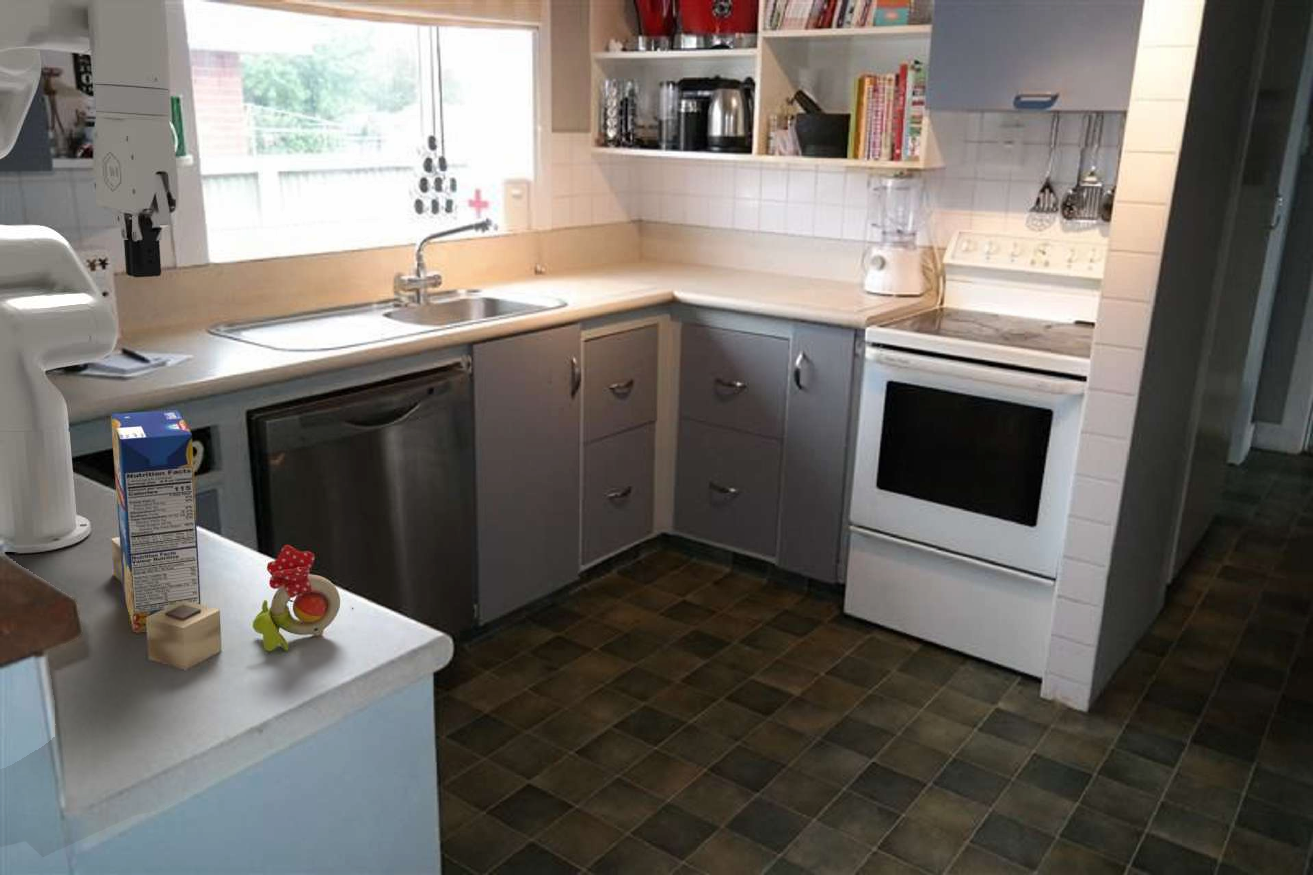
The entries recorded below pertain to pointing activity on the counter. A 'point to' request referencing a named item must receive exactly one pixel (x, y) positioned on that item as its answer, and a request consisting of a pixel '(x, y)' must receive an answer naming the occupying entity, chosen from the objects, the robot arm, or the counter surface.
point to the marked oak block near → (183, 634)
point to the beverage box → (155, 512)
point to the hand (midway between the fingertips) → (143, 275)
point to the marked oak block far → (117, 558)
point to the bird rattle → (296, 600)
